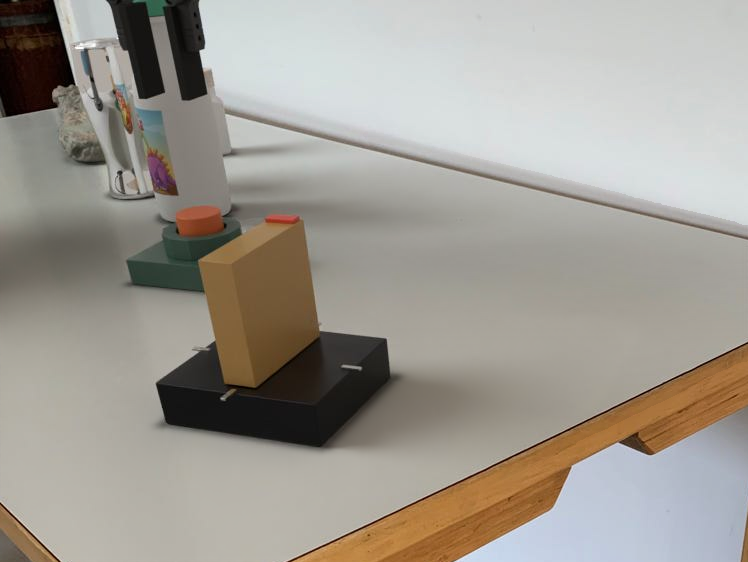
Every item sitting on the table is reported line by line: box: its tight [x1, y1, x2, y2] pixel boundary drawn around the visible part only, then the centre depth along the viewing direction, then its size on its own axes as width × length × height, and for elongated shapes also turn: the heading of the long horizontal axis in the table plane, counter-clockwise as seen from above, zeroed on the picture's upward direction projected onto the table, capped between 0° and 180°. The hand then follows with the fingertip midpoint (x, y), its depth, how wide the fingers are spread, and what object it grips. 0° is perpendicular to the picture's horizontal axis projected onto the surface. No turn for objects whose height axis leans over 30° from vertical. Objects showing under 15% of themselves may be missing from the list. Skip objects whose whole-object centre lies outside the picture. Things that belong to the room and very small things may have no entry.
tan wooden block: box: [198, 213, 321, 388], centre depth 65 cm, size 9×2×8 cm, turn 159°
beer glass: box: [69, 37, 155, 200], centre depth 109 cm, size 7×7×15 cm
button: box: [175, 206, 224, 236], centre depth 88 cm, size 4×4×2 cm
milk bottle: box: [132, 0, 232, 223], centre depth 99 cm, size 8×8×20 cm
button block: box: [125, 216, 243, 292], centre depth 89 cm, size 11×9×4 cm
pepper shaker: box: [203, 67, 232, 156], centre depth 124 cm, size 4×4×10 cm
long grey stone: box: [51, 84, 106, 163], centre depth 136 cm, size 35×5×10 cm
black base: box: [155, 321, 391, 448], centre depth 68 cm, size 13×13×3 cm
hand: (173, 95), depth 82 cm, fingers open, 3 cm apart
